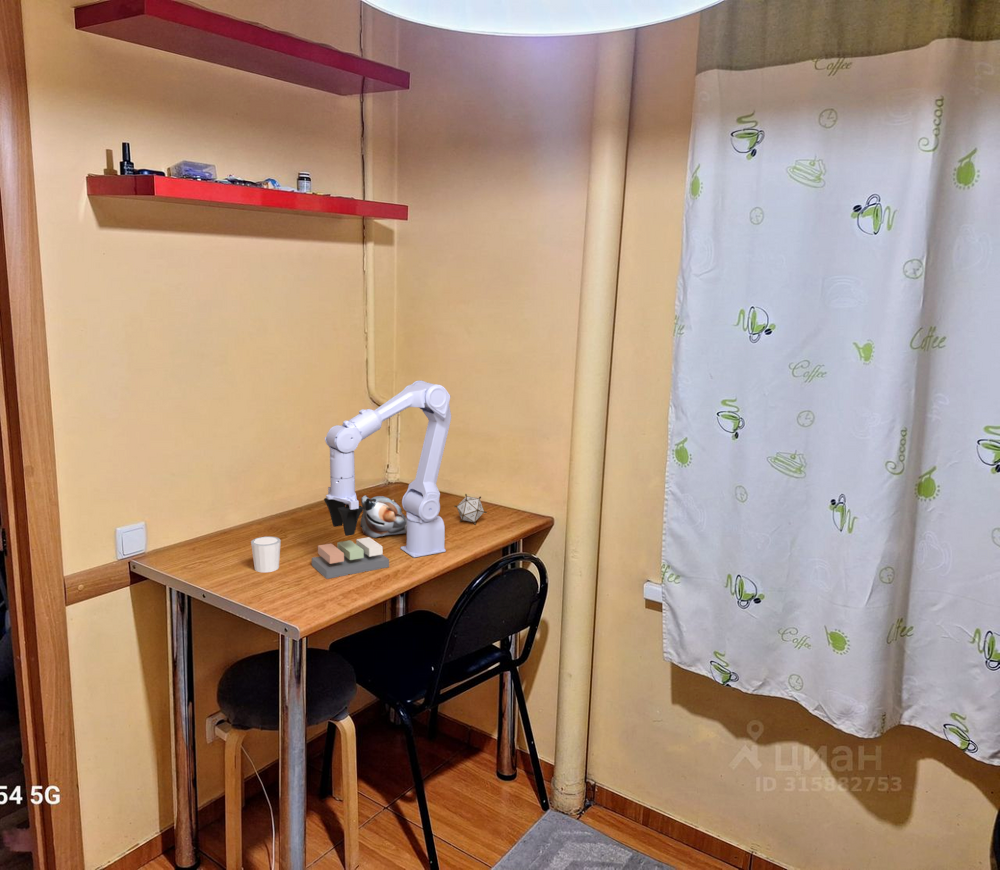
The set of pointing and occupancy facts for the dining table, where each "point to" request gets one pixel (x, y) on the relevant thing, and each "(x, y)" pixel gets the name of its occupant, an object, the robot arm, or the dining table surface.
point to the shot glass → (266, 553)
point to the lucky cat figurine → (382, 517)
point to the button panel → (349, 565)
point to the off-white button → (370, 546)
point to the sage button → (350, 550)
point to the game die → (470, 509)
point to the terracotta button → (330, 553)
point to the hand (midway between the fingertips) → (343, 530)
